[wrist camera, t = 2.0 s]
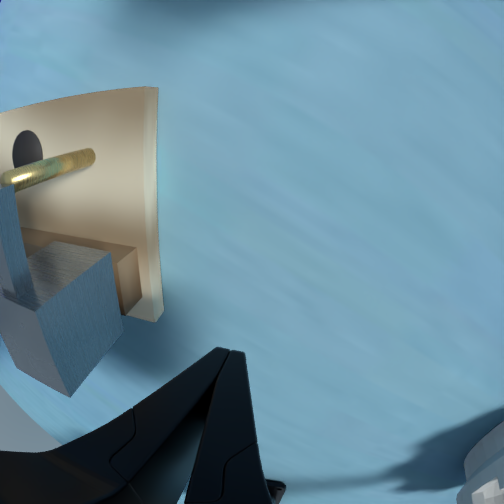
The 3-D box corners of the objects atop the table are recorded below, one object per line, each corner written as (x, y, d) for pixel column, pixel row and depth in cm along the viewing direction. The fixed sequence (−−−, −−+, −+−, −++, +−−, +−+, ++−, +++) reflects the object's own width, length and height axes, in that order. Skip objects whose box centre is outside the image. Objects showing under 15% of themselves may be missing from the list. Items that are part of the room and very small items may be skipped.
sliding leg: (135, 317, 13) (70, 397, 8) (83, 302, 13) (16, 367, 9) (119, 146, 10) (6, 181, 5) (61, 148, 10) (-42, 181, 6)
